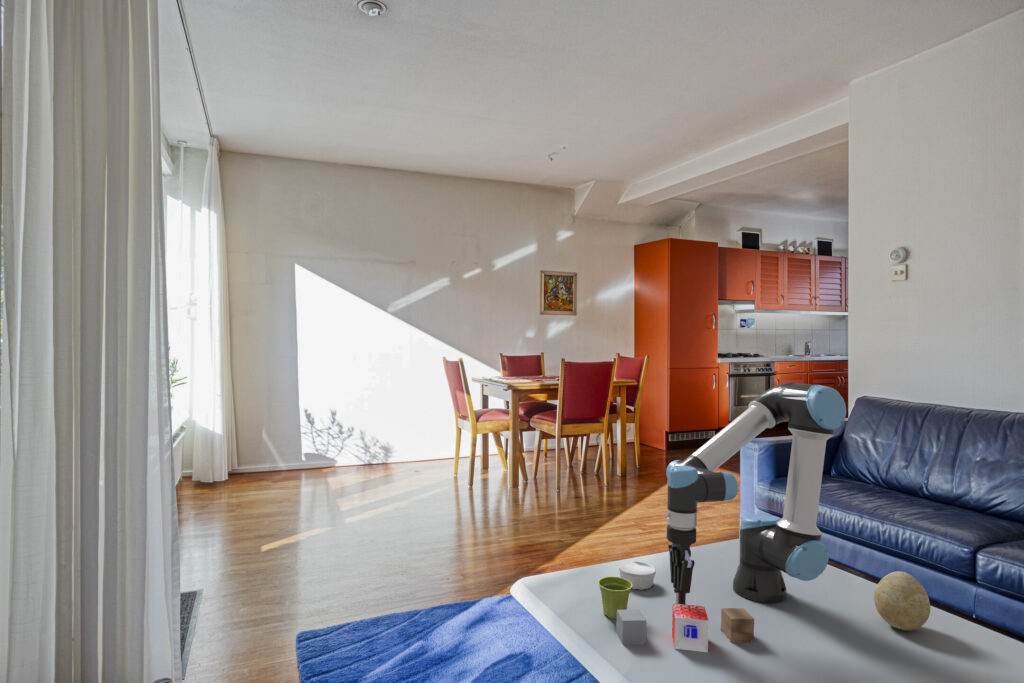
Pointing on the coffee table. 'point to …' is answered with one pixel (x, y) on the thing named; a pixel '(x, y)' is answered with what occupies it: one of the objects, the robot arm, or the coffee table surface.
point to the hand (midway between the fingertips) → (679, 615)
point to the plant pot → (614, 594)
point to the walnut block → (737, 624)
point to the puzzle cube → (690, 627)
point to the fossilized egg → (902, 601)
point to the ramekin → (638, 574)
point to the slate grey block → (631, 627)
